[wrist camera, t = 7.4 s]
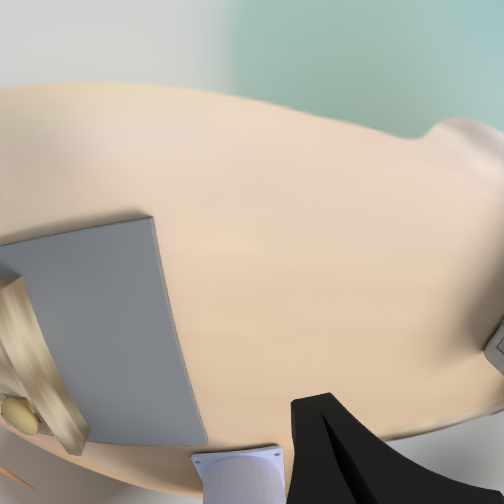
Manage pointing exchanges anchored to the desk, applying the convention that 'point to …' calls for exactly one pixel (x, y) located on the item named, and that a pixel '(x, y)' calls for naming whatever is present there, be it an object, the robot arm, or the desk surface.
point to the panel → (35, 370)
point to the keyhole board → (108, 334)
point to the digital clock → (496, 349)
